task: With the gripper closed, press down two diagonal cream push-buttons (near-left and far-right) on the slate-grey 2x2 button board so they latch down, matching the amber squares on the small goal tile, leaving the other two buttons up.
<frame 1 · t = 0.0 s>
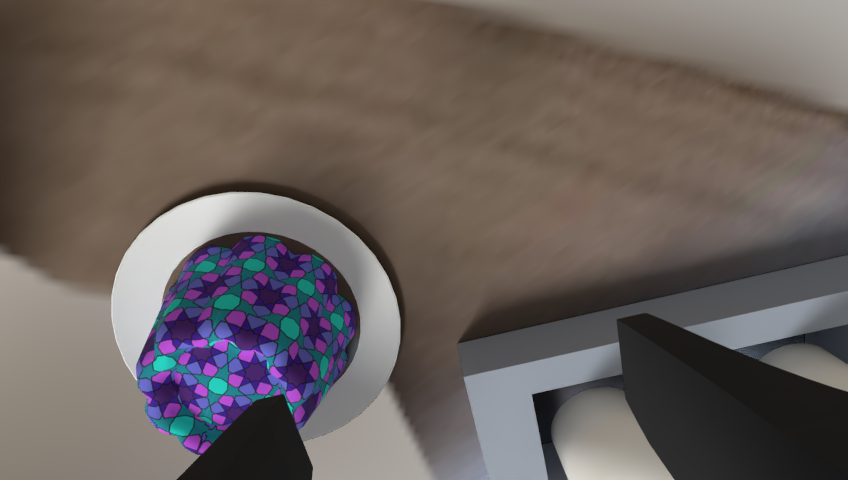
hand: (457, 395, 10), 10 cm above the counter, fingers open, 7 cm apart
button c: (617, 462, 18), point 4 cm above the counter, slide at 0.0 cm
board: (669, 441, 24), on the counter
pudding: (265, 319, 21), on the counter
button d: (828, 417, 18), point 4 cm above the counter, slide at 0.0 cm
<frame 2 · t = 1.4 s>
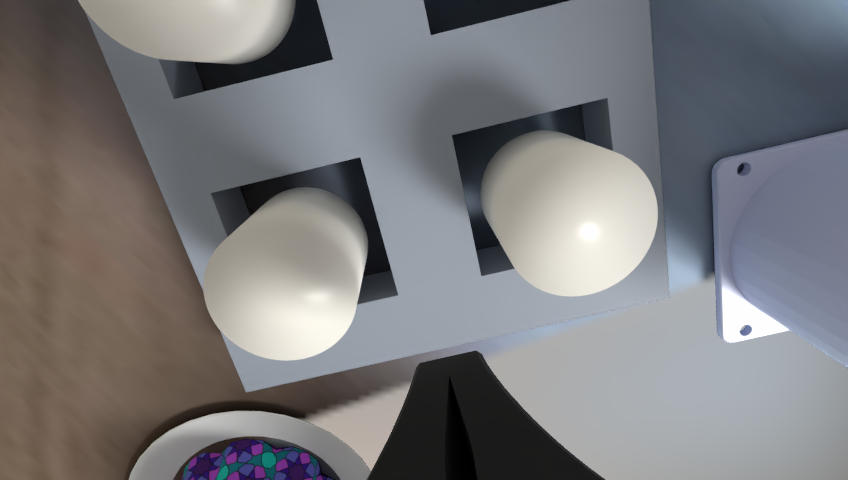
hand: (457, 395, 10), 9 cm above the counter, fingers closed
button c: (297, 266, 15), point 4 cm above the counter, slide at 0.0 cm
board: (395, 95, 17), on the counter
button a: (557, 206, 14), point 4 cm above the counter, slide at 0.0 cm
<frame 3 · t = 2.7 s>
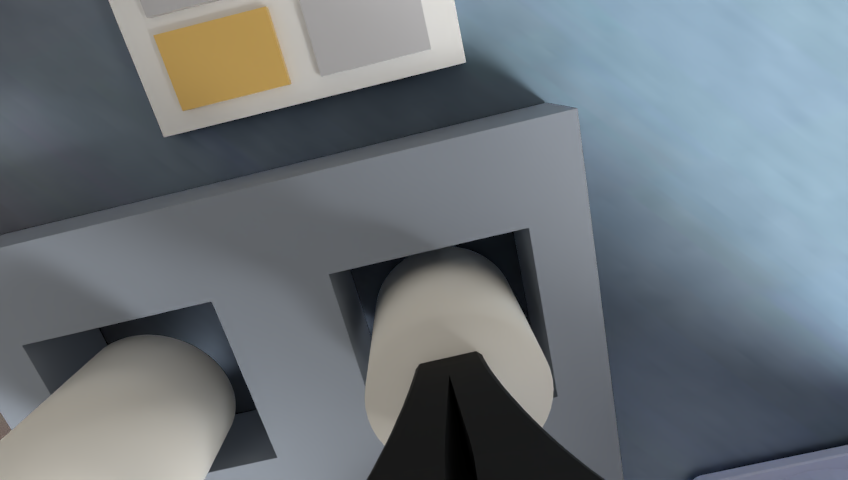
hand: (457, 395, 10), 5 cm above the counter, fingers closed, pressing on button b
button b: (451, 348, 12), point 3 cm above the counter, slide at 1.4 cm, touching gripper
board: (353, 427, 16), on the counter
button d: (118, 455, 11), point 4 cm above the counter, slide at 0.0 cm
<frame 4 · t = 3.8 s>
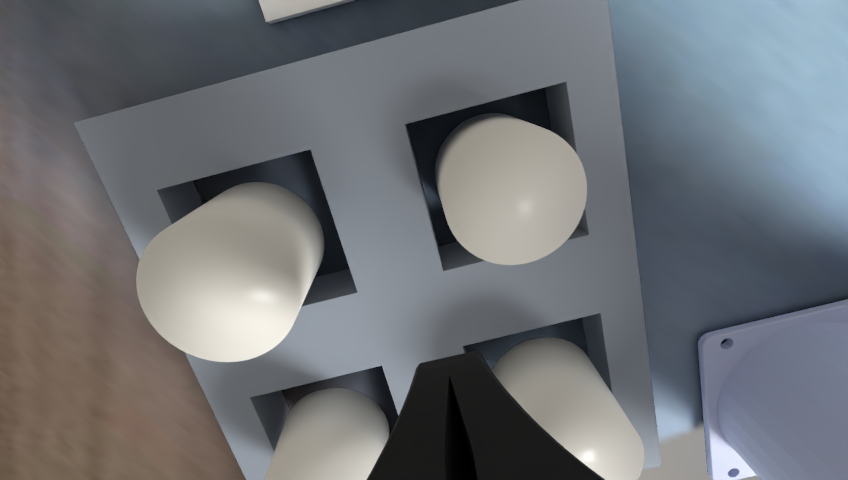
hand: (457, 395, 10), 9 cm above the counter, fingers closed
button c: (329, 472, 17), point 4 cm above the counter, slide at 0.0 cm
button b: (501, 182, 15), point 3 cm above the counter, slide at 1.7 cm
board: (410, 289, 19), on the counter
button d: (244, 263, 14), point 4 cm above the counter, slide at 0.0 cm
button a: (557, 419, 16), point 4 cm above the counter, slide at 0.0 cm
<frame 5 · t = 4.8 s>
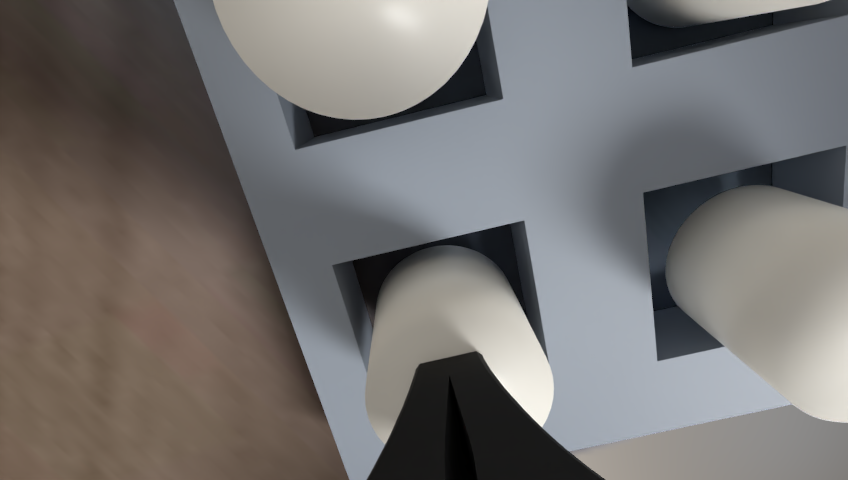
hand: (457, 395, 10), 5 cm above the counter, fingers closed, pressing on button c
button c: (451, 347, 12), point 3 cm above the counter, slide at 0.8 cm, touching gripper
board: (546, 135, 14), on the counter
button a: (797, 290, 11), point 4 cm above the counter, slide at 0.0 cm
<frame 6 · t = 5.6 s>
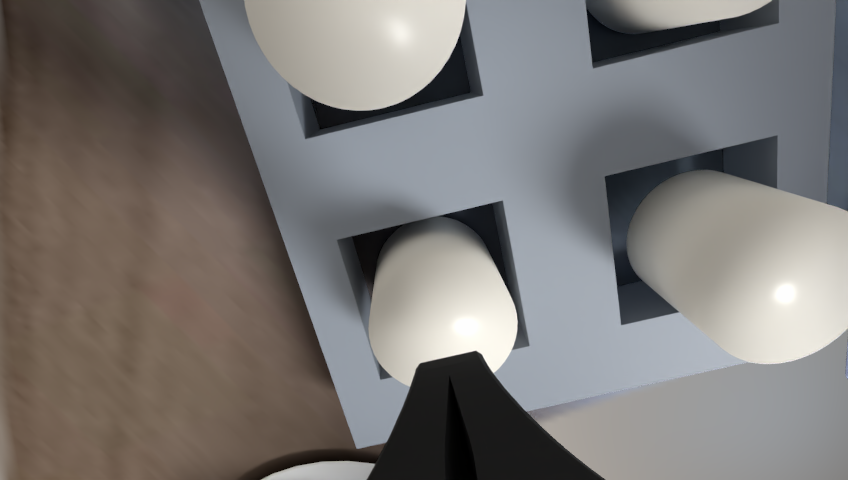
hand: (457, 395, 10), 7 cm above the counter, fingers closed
button c: (438, 297, 15), point 3 cm above the counter, slide at 1.7 cm
board: (524, 127, 16), on the counter
button d: (364, 10, 11), point 4 cm above the counter, slide at 0.0 cm
button a: (733, 257, 13), point 4 cm above the counter, slide at 0.0 cm
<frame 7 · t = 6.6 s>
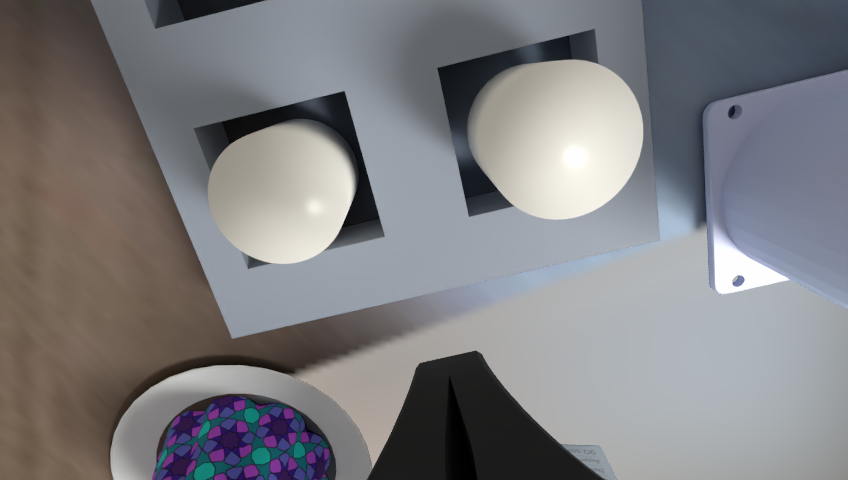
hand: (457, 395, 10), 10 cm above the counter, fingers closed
button c: (292, 185, 16), point 3 cm above the counter, slide at 1.7 cm
board: (382, 35, 17), on the counter
pudding: (250, 459, 23), on the counter
button a: (543, 134, 14), point 4 cm above the counter, slide at 0.0 cm
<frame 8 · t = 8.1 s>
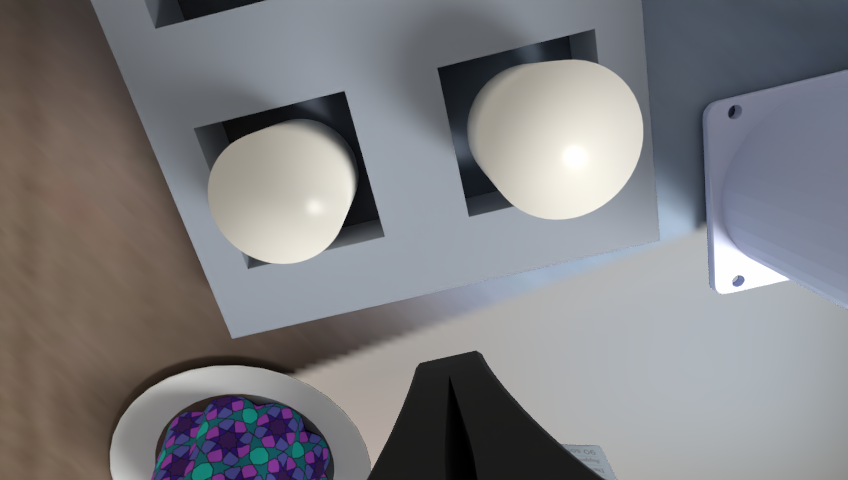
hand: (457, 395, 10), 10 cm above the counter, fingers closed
button c: (292, 185, 16), point 3 cm above the counter, slide at 1.7 cm
board: (382, 35, 17), on the counter
pudding: (249, 460, 23), on the counter
button a: (543, 134, 14), point 4 cm above the counter, slide at 0.0 cm
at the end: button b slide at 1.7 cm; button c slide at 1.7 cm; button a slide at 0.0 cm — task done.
